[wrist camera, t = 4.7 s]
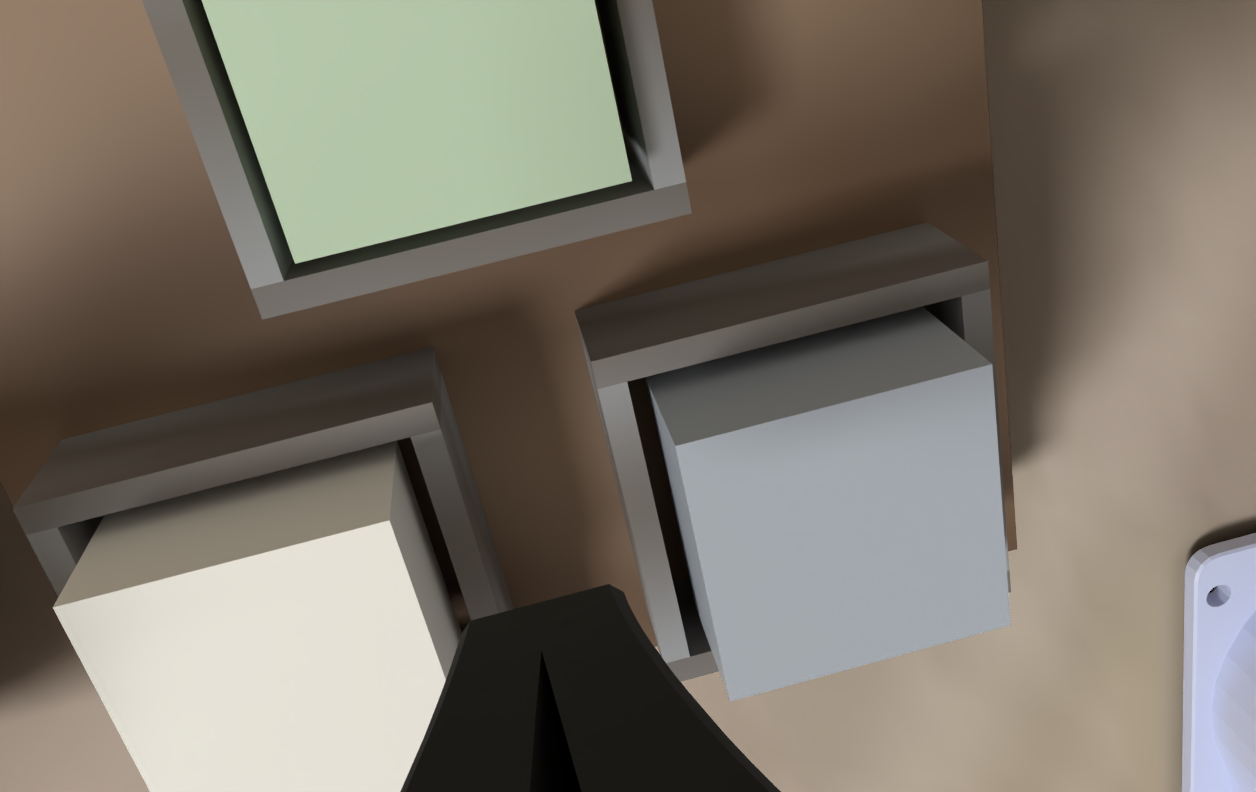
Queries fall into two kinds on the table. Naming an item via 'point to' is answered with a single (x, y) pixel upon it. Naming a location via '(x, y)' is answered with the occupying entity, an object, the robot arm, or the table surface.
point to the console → (473, 282)
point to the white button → (269, 629)
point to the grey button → (836, 498)
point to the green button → (418, 110)
